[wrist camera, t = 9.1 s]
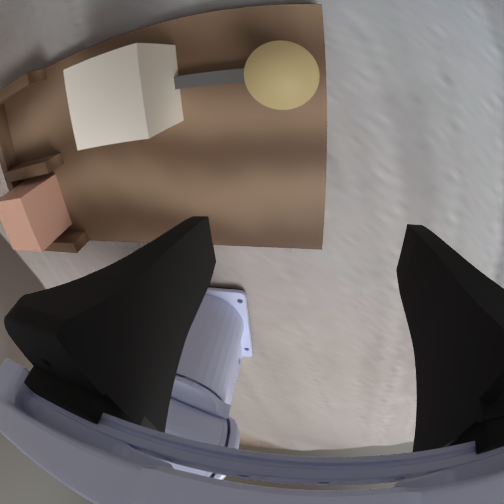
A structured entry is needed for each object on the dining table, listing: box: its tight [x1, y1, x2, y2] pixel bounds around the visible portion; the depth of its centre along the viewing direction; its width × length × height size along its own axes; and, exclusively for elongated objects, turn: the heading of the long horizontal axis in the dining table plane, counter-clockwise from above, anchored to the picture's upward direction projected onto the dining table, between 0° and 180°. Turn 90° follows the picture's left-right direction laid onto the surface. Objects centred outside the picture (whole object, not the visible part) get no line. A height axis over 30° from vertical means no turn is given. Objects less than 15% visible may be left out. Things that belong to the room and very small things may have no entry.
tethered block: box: [63, 40, 320, 150], centre depth 13 cm, size 5×13×5 cm, turn 94°
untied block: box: [0, 174, 72, 252], centre depth 21 cm, size 5×5×4 cm
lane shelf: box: [0, 4, 327, 253], centre depth 18 cm, size 16×28×3 cm, turn 94°
